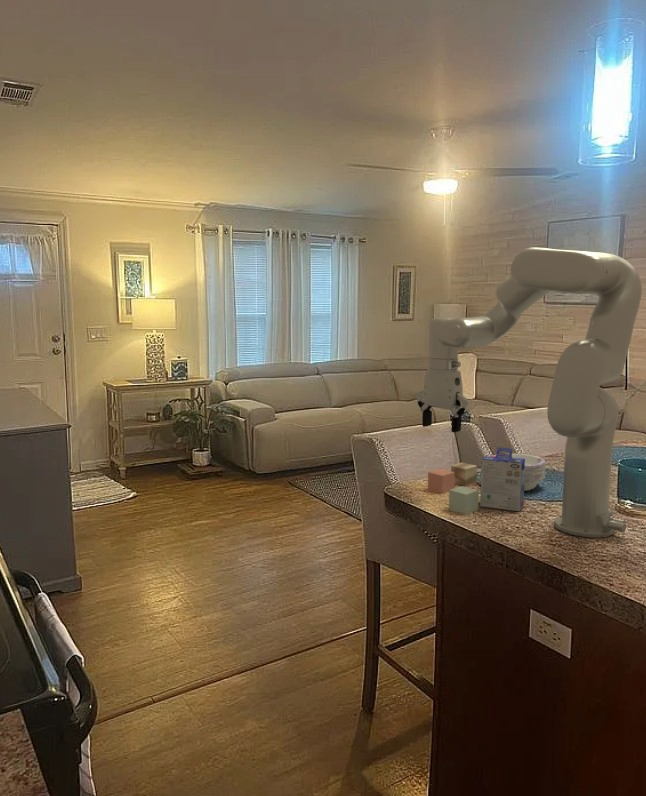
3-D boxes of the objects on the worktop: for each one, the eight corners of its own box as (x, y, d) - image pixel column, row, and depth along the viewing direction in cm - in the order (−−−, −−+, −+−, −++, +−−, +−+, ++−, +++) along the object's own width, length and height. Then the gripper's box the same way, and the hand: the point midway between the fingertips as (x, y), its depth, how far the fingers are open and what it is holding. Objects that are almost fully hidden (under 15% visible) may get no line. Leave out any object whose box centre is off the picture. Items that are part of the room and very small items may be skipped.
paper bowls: (492, 476, 183) (493, 450, 182) (547, 482, 176) (548, 455, 175) (481, 491, 169) (482, 462, 168) (540, 498, 163) (542, 468, 162)
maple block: (476, 483, 177) (476, 465, 176) (465, 486, 174) (465, 469, 173) (461, 479, 181) (462, 462, 180) (450, 482, 178) (451, 465, 177)
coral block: (454, 490, 171) (454, 472, 170) (442, 494, 167) (442, 475, 167) (439, 486, 174) (439, 468, 174) (427, 490, 171) (428, 472, 170)
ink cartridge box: (524, 505, 157) (526, 448, 155) (521, 512, 152) (523, 453, 150) (484, 500, 161) (485, 445, 159) (479, 507, 156) (481, 449, 154)
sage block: (478, 510, 154) (478, 490, 154) (465, 514, 151) (466, 494, 150) (461, 505, 158) (461, 486, 157) (448, 509, 155) (449, 490, 154)
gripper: (479, 366, 162) (476, 431, 165) (426, 361, 175) (425, 422, 177) (461, 368, 157) (459, 436, 160) (408, 363, 170) (407, 425, 173)
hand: (441, 428), depth 169 cm, fingers open, 9 cm apart
